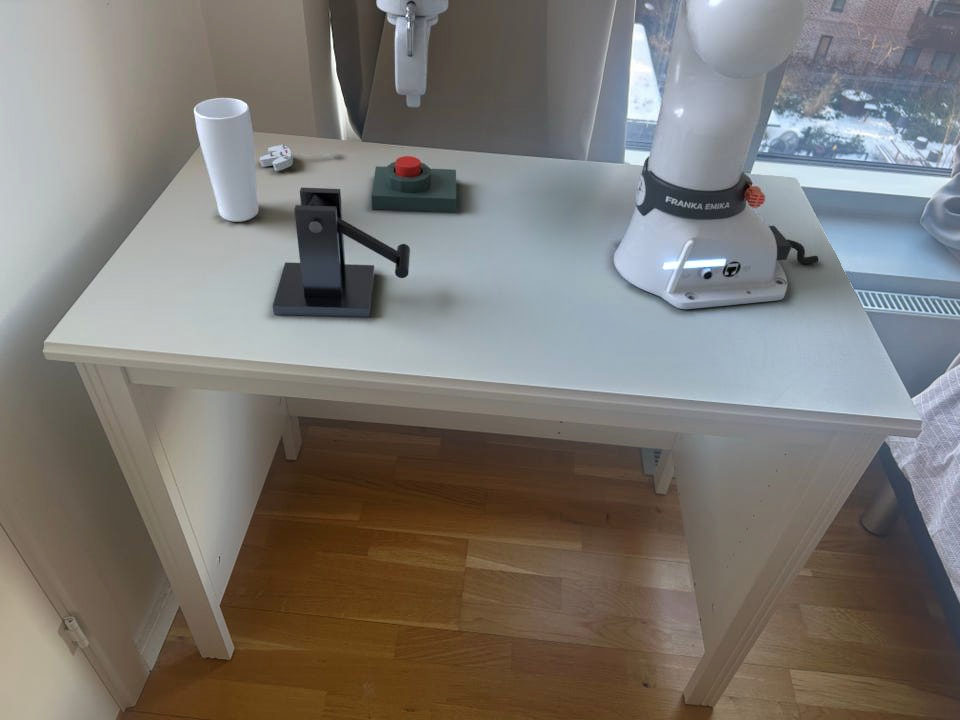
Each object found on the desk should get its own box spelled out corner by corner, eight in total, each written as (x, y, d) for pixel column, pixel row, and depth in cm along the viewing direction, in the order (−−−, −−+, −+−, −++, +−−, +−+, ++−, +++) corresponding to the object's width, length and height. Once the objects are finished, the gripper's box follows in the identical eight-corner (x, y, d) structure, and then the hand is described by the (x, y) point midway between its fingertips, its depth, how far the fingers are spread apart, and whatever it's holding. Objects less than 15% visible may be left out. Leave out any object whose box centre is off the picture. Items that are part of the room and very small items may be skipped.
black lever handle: (403, 259, 90) (414, 245, 89) (401, 282, 86) (413, 268, 85) (305, 203, 85) (315, 188, 83) (299, 226, 81) (309, 210, 80)
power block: (455, 182, 113) (456, 158, 111) (455, 212, 106) (457, 187, 104) (376, 179, 112) (375, 154, 110) (371, 209, 106) (370, 184, 103)
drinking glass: (252, 229, 100) (234, 122, 90) (204, 221, 100) (182, 114, 90) (272, 205, 105) (258, 101, 95) (227, 198, 105) (208, 94, 96)
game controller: (254, 161, 114) (252, 144, 113) (320, 144, 120) (319, 129, 119) (271, 175, 111) (269, 159, 109) (338, 158, 117) (337, 142, 115)
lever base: (374, 273, 94) (371, 181, 85) (369, 317, 87) (364, 221, 78) (286, 270, 93) (273, 177, 84) (273, 314, 86) (259, 217, 78)
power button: (420, 167, 108) (421, 156, 107) (420, 179, 106) (420, 168, 105) (396, 166, 108) (396, 155, 107) (395, 178, 105) (394, 166, 104)
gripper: (437, 18, 83) (436, 136, 92) (438, -29, 98) (438, 76, 107) (380, 16, 82) (385, 135, 91) (390, -31, 98) (394, 75, 107)
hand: (413, 103), depth 99 cm, fingers closed
